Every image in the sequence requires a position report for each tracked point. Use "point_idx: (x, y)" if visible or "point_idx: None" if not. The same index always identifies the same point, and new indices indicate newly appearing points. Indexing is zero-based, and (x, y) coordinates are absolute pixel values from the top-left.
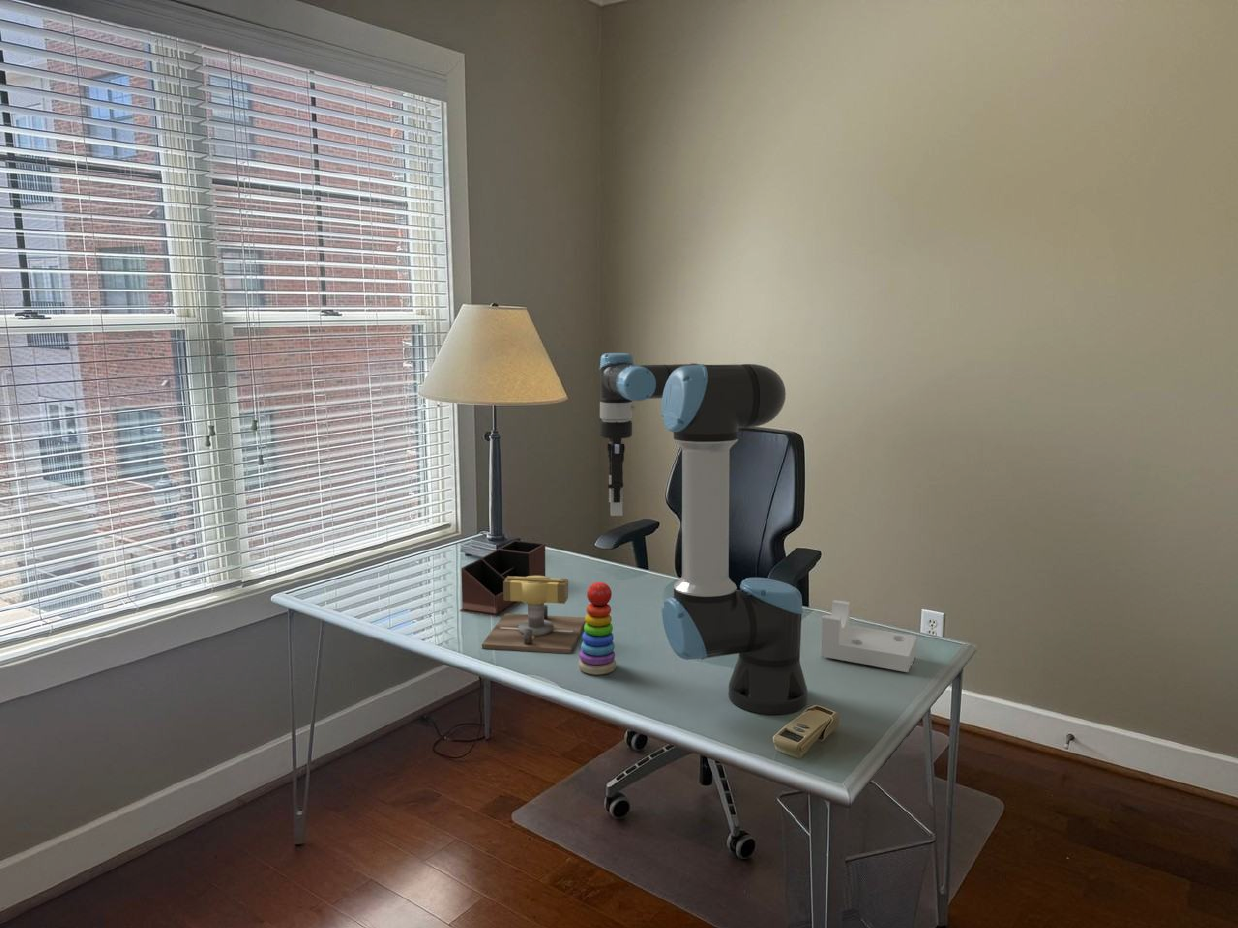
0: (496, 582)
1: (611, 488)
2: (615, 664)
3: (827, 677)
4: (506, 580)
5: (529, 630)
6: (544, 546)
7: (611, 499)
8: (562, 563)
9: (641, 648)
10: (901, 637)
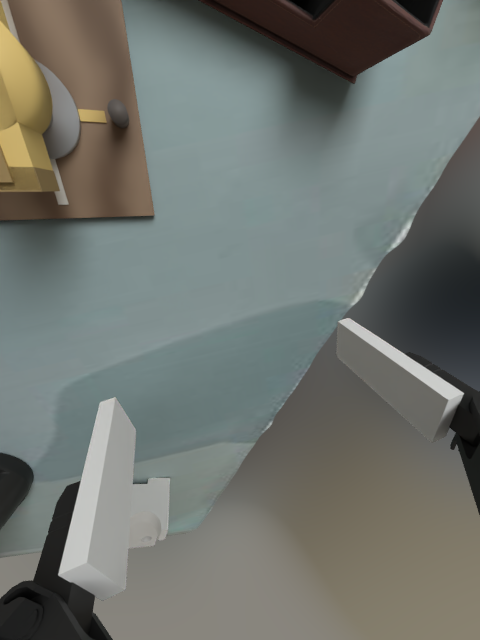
0: None
1: (61, 573)
2: None
3: None
4: None
5: None
6: (419, 36)
7: (84, 481)
8: (446, 100)
9: (67, 327)
10: (151, 538)
